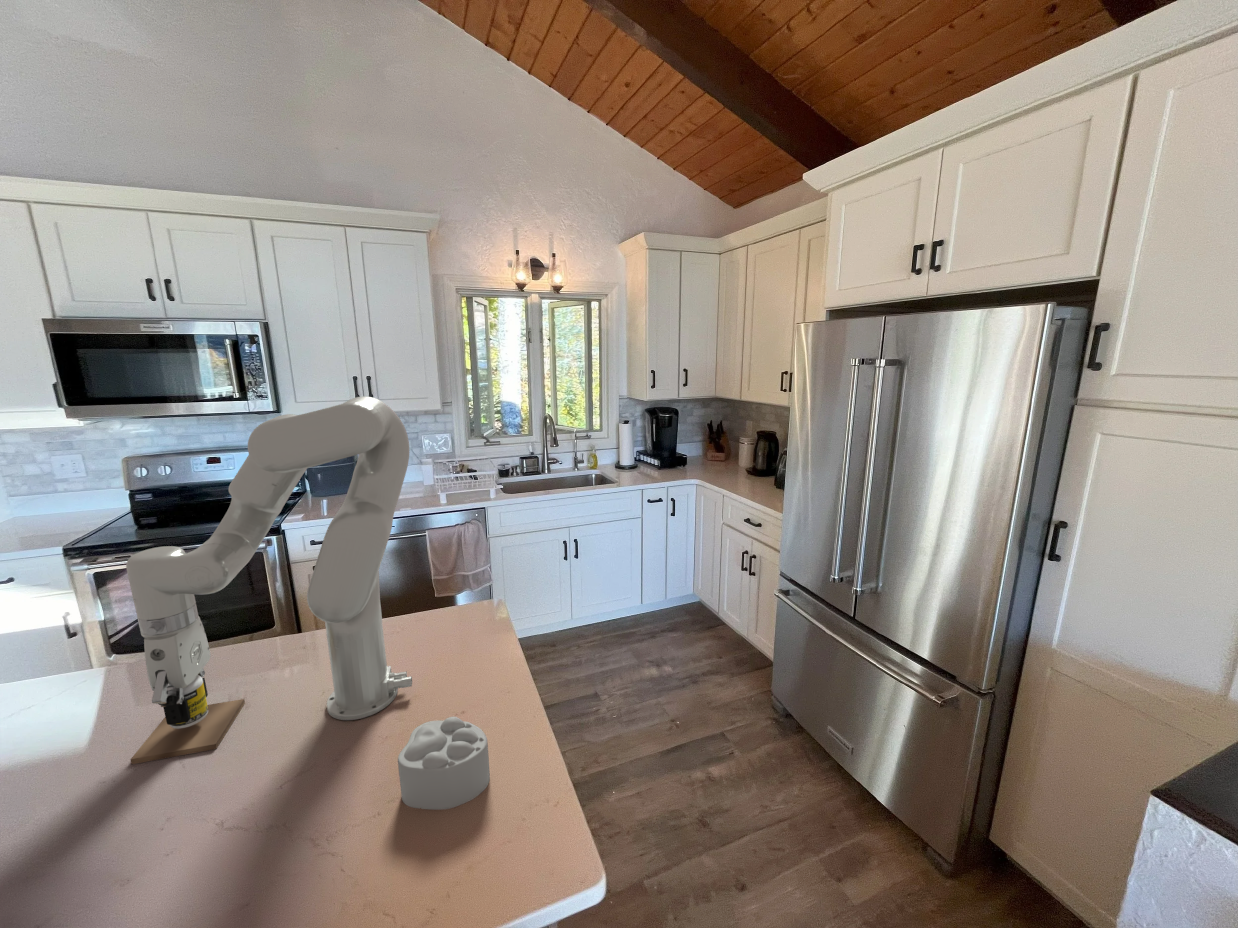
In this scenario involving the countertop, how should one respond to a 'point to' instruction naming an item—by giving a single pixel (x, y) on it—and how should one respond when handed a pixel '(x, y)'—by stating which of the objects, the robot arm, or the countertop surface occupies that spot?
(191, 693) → the supplement bottle
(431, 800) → the lumpy-topped squat cylinder
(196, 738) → the walnut board
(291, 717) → the countertop surface
